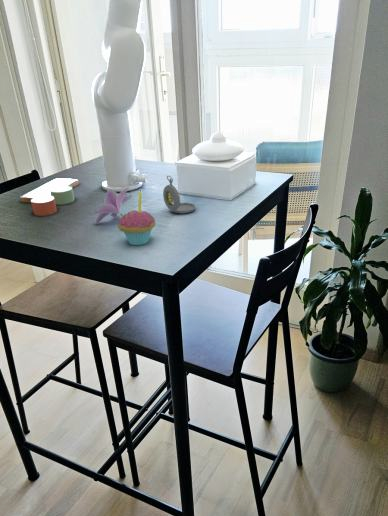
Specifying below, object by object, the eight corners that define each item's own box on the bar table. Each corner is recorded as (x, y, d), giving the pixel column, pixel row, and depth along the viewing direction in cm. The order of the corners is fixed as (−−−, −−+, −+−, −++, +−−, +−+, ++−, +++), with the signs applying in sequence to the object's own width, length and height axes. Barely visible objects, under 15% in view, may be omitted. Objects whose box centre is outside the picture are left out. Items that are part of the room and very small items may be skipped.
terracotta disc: (61, 208, 136) (58, 196, 134) (48, 216, 131) (45, 203, 129) (42, 207, 138) (39, 194, 135) (28, 214, 133) (25, 202, 131)
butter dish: (230, 200, 136) (230, 140, 127) (176, 193, 143) (173, 136, 134) (256, 183, 148) (257, 127, 139) (205, 177, 156) (203, 124, 147)
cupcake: (141, 232, 118) (136, 182, 112) (164, 240, 113) (160, 189, 107) (113, 242, 114) (106, 191, 107) (136, 252, 109) (129, 199, 102)
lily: (141, 217, 130) (122, 184, 127) (149, 213, 119) (130, 177, 116) (103, 239, 128) (83, 206, 125) (108, 237, 117) (87, 201, 114)
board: (78, 184, 155) (78, 179, 155) (43, 203, 140) (42, 198, 139) (57, 182, 158) (56, 178, 157) (20, 202, 142) (19, 197, 142)
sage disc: (78, 198, 143) (76, 186, 141) (67, 205, 138) (64, 192, 136) (60, 197, 145) (57, 185, 143) (48, 203, 140) (45, 191, 138)
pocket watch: (198, 207, 132) (197, 169, 126) (188, 217, 125) (186, 178, 120) (171, 205, 134) (168, 168, 129) (159, 215, 128) (156, 177, 122)
